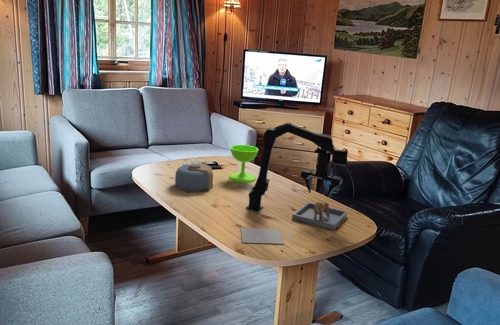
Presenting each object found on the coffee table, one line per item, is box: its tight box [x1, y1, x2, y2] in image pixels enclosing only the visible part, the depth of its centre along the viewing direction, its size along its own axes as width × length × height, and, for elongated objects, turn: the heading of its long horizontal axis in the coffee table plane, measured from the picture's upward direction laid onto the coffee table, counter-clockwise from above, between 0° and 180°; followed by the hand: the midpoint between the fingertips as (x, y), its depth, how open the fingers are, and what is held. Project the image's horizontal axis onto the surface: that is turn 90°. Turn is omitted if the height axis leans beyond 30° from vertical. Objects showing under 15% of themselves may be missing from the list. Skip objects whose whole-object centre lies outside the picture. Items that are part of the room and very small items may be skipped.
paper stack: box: [240, 225, 292, 245], centre depth 189 cm, size 23×25×1 cm
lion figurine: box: [314, 201, 330, 220], centre depth 207 cm, size 15×5×9 cm, turn 154°
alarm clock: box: [174, 162, 214, 192], centre depth 237 cm, size 19×20×12 cm
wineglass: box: [228, 144, 259, 184], centre depth 257 cm, size 16×16×18 cm
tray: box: [291, 201, 348, 231], centre depth 208 cm, size 20×20×2 cm
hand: (319, 194), depth 207 cm, fingers open, 9 cm apart
